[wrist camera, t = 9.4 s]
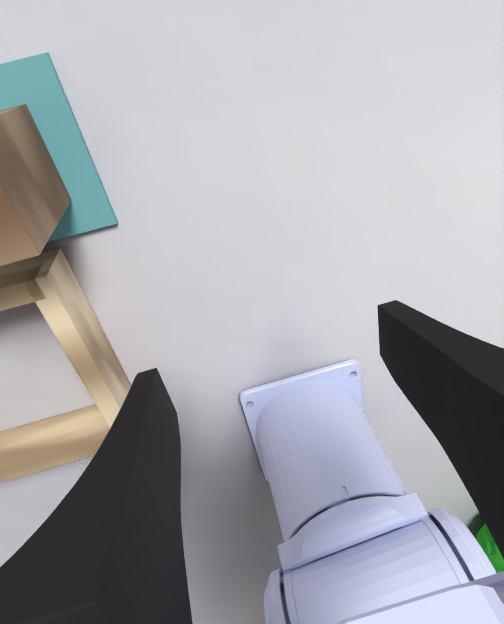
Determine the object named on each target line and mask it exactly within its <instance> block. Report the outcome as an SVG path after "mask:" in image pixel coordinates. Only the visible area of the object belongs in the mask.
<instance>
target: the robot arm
mask: <svg viewBox="0 0 504 624" xmlns="http://www.w3.org/2000/svg"><path fill="white" fill-rule="evenodd" d="M378 324H379V344H380V355H381V357H382V359H383V361H384V363H385V365H386V367H387V368H388V370H389V372H390V374H391V376H392V377H393V379H394V381H395V382H396V383H397V385H398V386H399V388H400V389H401V390H402V392H403V393H404V394H405V396H406V397H407V399H408V400H409V401H410V403H411V404H412V405H413V407H414V408H415V409H416V411H417V412H418V413H419V415H420V416H421V418H422V419H423V420H424V422H425V423H426V424H427V426H428V427H429V428H430V430H431V431H432V432H433V434H434V435H435V437H436V438H437V440H438V441H439V443H440V444H441V446H442V447H443V449H444V451H445V452H446V454H447V456H448V457H449V459H450V461H451V462H452V464H453V466H454V468H455V469H456V471H457V473H458V474H459V476H460V478H461V480H462V482H463V483H464V485H465V487H466V489H467V490H468V492H469V494H470V496H471V498H472V499H473V501H474V503H475V505H476V507H477V509H478V511H479V512H480V514H481V516H482V518H483V520H484V522H485V524H486V526H487V528H488V529H489V531H490V533H491V535H492V537H493V539H494V541H495V543H496V545H497V547H498V549H499V551H500V553H501V555H502V557H503V559H504V349H503V348H500V347H497V346H495V345H492V344H489V343H487V342H484V341H482V340H479V339H477V338H475V337H472V336H470V335H467V334H465V333H463V332H460V331H458V330H456V329H454V328H452V327H449V326H447V325H445V324H443V323H441V322H439V321H437V320H435V319H433V318H431V317H429V316H427V315H425V314H423V313H421V312H419V311H417V310H415V309H413V308H411V307H409V306H407V305H405V304H403V303H401V302H399V301H397V300H395V301H391V302H388V303H384V304H381V305H378ZM353 371H354V372H353ZM351 372H353V373H351ZM350 373H351V374H350ZM240 401H241V404H242V408H243V411H244V414H245V417H246V420H247V423H248V426H249V429H250V433H251V436H252V439H253V442H254V445H255V448H256V451H257V455H258V458H259V461H260V464H261V467H262V470H263V473H264V477H265V479H266V481H269V484H270V488H271V492H272V496H273V500H274V504H275V508H276V512H277V516H278V520H279V524H280V528H281V532H282V536H283V540H284V543H282V544H279V545H278V546H277V549H278V553H279V557H280V561H281V566H282V568H279V569H277V570H274V571H272V572H271V574H270V576H269V579H268V584H267V586H266V589H265V592H264V616H265V624H504V571H503V572H499V573H496V571H495V569H494V567H493V566H492V564H491V562H490V561H489V559H488V557H487V556H486V554H485V553H484V551H483V549H482V548H481V546H480V545H479V543H478V542H477V540H476V539H475V538H474V536H473V535H472V533H471V532H470V531H469V529H468V528H467V527H466V526H465V525H464V524H463V522H462V521H461V520H460V519H458V518H457V517H455V516H453V515H451V514H449V513H446V512H445V511H444V510H443V509H441V508H435V509H432V510H430V511H426V510H425V508H424V506H423V504H422V503H421V501H420V499H419V497H418V496H417V494H416V493H410V494H409V493H408V492H407V490H406V488H405V486H404V484H403V482H402V481H401V479H400V477H399V475H398V473H397V472H396V470H395V468H394V466H393V464H392V463H391V461H390V459H389V457H388V455H387V454H386V452H385V450H384V448H383V446H382V445H381V443H380V441H379V439H378V437H377V435H376V434H375V432H374V430H373V428H372V426H371V425H370V423H369V421H368V419H367V417H366V416H365V414H364V409H363V397H362V386H361V374H360V365H359V363H358V362H357V361H356V360H354V359H352V360H347V361H344V362H340V363H337V364H334V365H330V366H327V367H323V368H320V369H316V370H313V371H309V372H306V373H302V374H299V375H295V376H292V377H288V378H285V379H281V380H278V381H274V382H271V383H268V384H264V385H261V386H257V387H254V388H250V389H247V390H244V391H242V392H241V393H240ZM250 401H251V402H250ZM247 402H250V403H247ZM180 487H181V444H180V434H179V425H178V418H177V412H176V410H175V408H174V405H173V403H172V401H171V399H170V397H169V394H168V392H167V390H166V388H165V385H164V383H163V381H162V379H161V377H160V374H159V372H158V370H157V368H155V369H151V370H148V371H144V372H141V373H138V374H137V375H136V377H135V379H134V381H133V383H132V385H131V388H130V390H129V392H128V394H127V396H126V398H125V400H124V402H123V405H122V407H121V409H120V411H119V413H118V414H117V416H116V418H115V420H114V422H113V424H112V426H111V428H110V430H109V432H108V433H107V435H106V437H105V439H104V440H103V442H102V444H101V446H100V447H99V449H98V451H97V452H96V454H95V456H94V457H93V459H92V460H91V462H90V463H89V465H88V466H87V468H86V470H85V471H84V472H83V474H82V475H81V477H80V478H79V480H78V481H77V482H76V484H75V485H74V486H73V488H72V489H71V490H70V491H69V493H68V494H67V495H66V496H65V498H64V499H63V500H62V501H61V503H60V504H59V505H58V506H57V508H56V509H55V510H54V511H53V513H52V514H51V515H50V516H49V517H48V518H47V520H46V521H45V522H44V523H43V524H42V525H41V526H40V527H39V528H38V530H37V531H36V532H35V533H34V534H33V535H32V536H31V537H30V538H29V539H28V540H27V541H26V542H25V543H24V545H23V546H22V547H21V548H20V549H19V550H18V551H17V552H16V553H15V554H14V555H13V556H12V557H11V558H10V559H9V560H8V561H6V562H5V563H4V564H3V565H2V566H1V567H0V624H192V616H191V609H190V601H189V593H188V585H187V576H186V568H185V559H184V549H183V539H182V529H181V511H180Z"/></svg>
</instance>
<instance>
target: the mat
mask: <svg viewBox="0 0 504 624" xmlns="http://www.w3.org/2000/svg"><path fill="white" fill-rule="evenodd" d="M23 104H26V105H27V107H28V109H29V111H30V113H31V115H32V117H33V119H34V122H35V124H36V126H37V128H38V130H39V132H40V134H41V136H42V138H43V140H44V143H45V145H46V147H47V149H48V151H49V153H50V155H51V157H52V159H53V162H54V164H55V166H56V168H57V170H58V172H59V174H60V176H61V178H62V181H63V183H64V185H65V187H66V189H67V191H68V193H69V195H70V197H71V202H70V203H69V205H68V207H67V209H66V210H65V212H64V214H63V216H62V217H61V219H60V221H59V223H58V224H57V226H56V228H55V229H54V231H53V233H52V235H51V236H50V238H49V240H48V242H51V241H54V240H58V239H62V238H65V237H69V236H73V235H77V234H80V233H84V232H88V231H91V230H95V229H99V228H103V227H106V226H110V225H114V224H117V222H118V221H117V219H116V216H115V214H114V211H113V209H112V207H111V204H110V202H109V199H108V197H107V194H106V192H105V190H104V187H103V185H102V182H101V180H100V177H99V175H98V173H97V170H96V168H95V165H94V163H93V160H92V158H91V156H90V153H89V151H88V148H87V146H86V143H85V141H84V139H83V136H82V134H81V131H80V129H79V126H78V124H77V122H76V119H75V117H74V114H73V112H72V109H71V107H70V104H69V102H68V100H67V97H66V95H65V92H64V90H63V87H62V85H61V83H60V80H59V78H58V75H57V73H56V70H55V68H54V66H53V63H52V61H51V58H50V56H49V53H44V54H40V55H36V56H32V57H28V58H24V59H20V60H16V61H12V62H8V63H4V64H0V110H4V109H8V108H11V107H15V106H19V105H23Z"/></svg>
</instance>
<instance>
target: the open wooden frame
mask: <svg viewBox="0 0 504 624" xmlns="http://www.w3.org/2000/svg"><path fill="white" fill-rule="evenodd" d="M32 302H35V303H36V304H37V306H38V308H39V309H40V311H41V313H42V314H43V316H44V318H45V319H46V321H47V323H48V324H49V326H50V328H51V330H52V331H53V333H54V335H55V336H56V338H57V340H58V341H59V343H60V345H61V346H62V348H63V350H64V351H65V353H66V355H67V356H68V358H69V360H70V361H71V363H72V365H73V366H74V368H75V370H76V371H77V373H78V375H79V376H80V378H81V380H82V382H83V383H84V385H85V387H86V388H87V390H88V392H89V393H90V395H91V397H92V398H93V400H94V402H95V403H96V405H93V406H90V407H86V408H83V409H79V410H76V411H72V412H69V413H65V414H62V415H58V416H55V417H51V418H48V419H44V420H41V421H37V422H34V423H30V424H27V425H23V426H20V427H16V428H13V429H9V430H6V431H2V432H0V482H4V481H7V480H11V479H14V478H17V477H21V476H24V475H28V474H31V473H35V472H38V471H42V470H45V469H49V468H52V467H55V466H59V465H62V464H66V463H69V462H73V461H76V460H80V459H83V458H86V457H90V456H93V455H95V454H96V452H97V451H98V449H99V447H100V446H101V444H102V442H103V440H104V439H105V437H106V435H107V433H108V432H109V430H110V428H111V426H112V424H113V422H114V420H115V418H116V416H117V414H118V413H119V411H120V409H121V407H122V405H123V402H124V400H125V398H126V396H127V394H128V392H129V390H130V388H131V384H130V382H129V380H128V378H127V376H126V374H125V372H124V370H123V368H122V367H121V365H120V363H119V361H118V359H117V357H116V355H115V353H114V351H113V349H112V347H111V345H110V343H109V341H108V339H107V337H106V335H105V333H104V331H103V329H102V327H101V325H100V323H99V322H98V320H97V318H96V316H95V314H94V312H93V310H92V308H91V306H90V304H89V302H88V300H87V298H86V296H85V294H84V292H83V290H82V288H81V286H80V284H79V282H78V280H77V278H76V276H75V275H74V273H73V271H72V269H71V267H70V265H69V263H68V261H67V259H66V257H65V255H64V253H63V251H62V249H61V247H60V248H57V249H53V250H49V251H46V252H42V253H41V254H40V255H38V256H35V257H31V258H28V259H24V260H20V261H17V262H13V263H10V264H6V265H3V266H0V311H3V310H7V309H10V308H14V307H17V306H21V305H25V304H28V303H32Z"/></svg>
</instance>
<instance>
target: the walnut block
mask: <svg viewBox="0 0 504 624" xmlns="http://www.w3.org/2000/svg"><path fill="white" fill-rule="evenodd" d="M70 202H71V197H70V195H69V193H68V191H67V189H66V187H65V185H64V183H63V181H62V178H61V176H60V174H59V172H58V170H57V168H56V166H55V164H54V162H53V159H52V157H51V155H50V153H49V151H48V149H47V147H46V145H45V143H44V140H43V138H42V136H41V134H40V132H39V130H38V128H37V126H36V124H35V122H34V119H33V117H32V115H31V113H30V111H29V109H28V107H27V105H26V104H23V105H19V106H15V107H11V108H8V109H4V110H0V266H3V265H6V264H10V263H13V262H17V261H20V260H24V259H28V258H31V257H35V256H38V255H40V254H41V252H42V250H43V249H44V247H45V245H46V243H47V242H48V240H49V238H50V236H51V235H52V233H53V231H54V229H55V228H56V226H57V224H58V223H59V221H60V219H61V217H62V216H63V214H64V212H65V210H66V209H67V207H68V205H69V203H70Z"/></svg>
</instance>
